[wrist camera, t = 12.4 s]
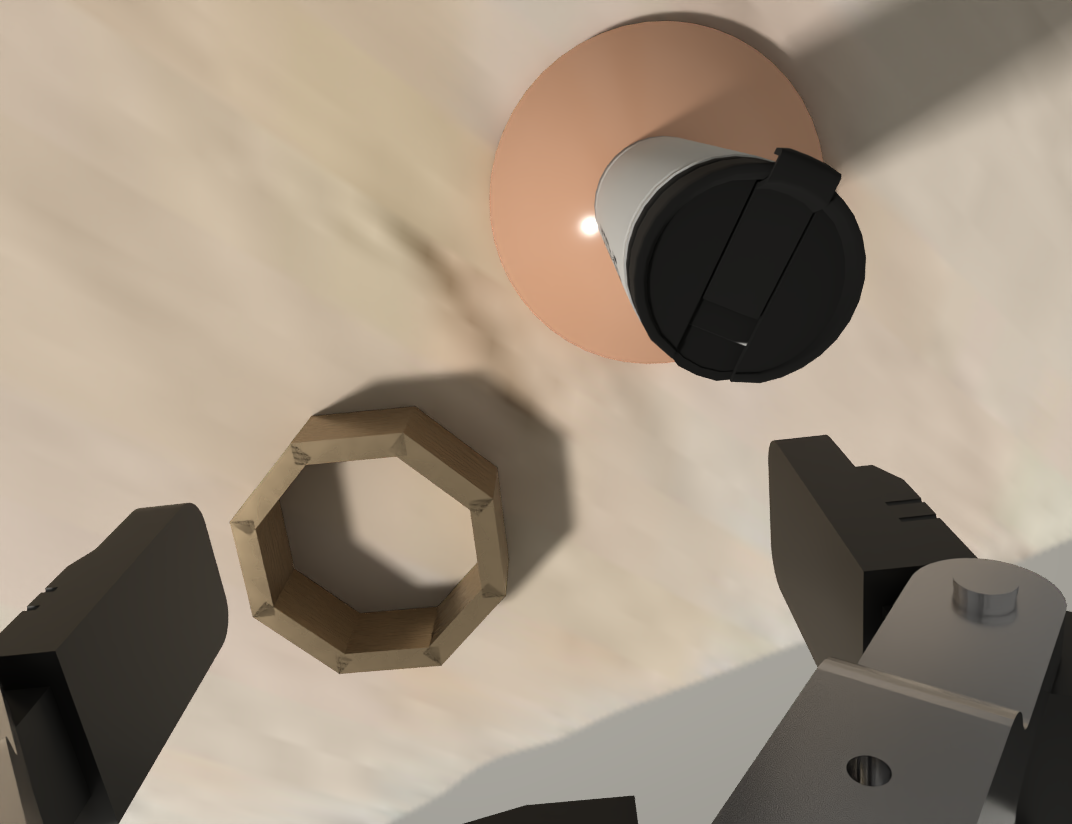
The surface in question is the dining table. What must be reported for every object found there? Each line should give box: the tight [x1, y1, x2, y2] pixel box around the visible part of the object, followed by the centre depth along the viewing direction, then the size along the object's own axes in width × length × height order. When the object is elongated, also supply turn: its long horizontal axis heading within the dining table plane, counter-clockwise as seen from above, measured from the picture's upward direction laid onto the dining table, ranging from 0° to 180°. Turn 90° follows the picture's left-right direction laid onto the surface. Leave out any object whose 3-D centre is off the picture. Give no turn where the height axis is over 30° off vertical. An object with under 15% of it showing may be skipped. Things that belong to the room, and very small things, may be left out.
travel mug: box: [594, 136, 866, 383], centre depth 32 cm, size 6×7×20 cm
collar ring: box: [230, 406, 509, 674], centre depth 47 cm, size 13×13×4 cm
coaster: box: [490, 21, 823, 364], centre depth 42 cm, size 16×16×1 cm
